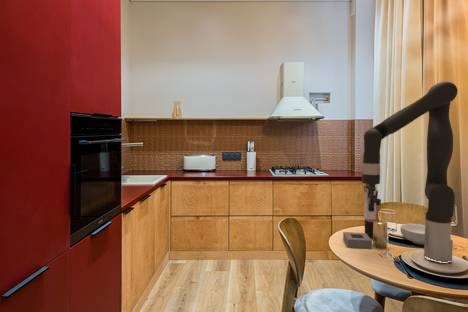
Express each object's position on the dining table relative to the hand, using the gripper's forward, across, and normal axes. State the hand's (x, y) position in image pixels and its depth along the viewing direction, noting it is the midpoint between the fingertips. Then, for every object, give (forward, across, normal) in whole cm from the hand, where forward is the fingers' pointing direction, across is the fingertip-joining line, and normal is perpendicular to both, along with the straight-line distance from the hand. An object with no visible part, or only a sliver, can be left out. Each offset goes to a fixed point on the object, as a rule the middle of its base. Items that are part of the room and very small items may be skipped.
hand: (369, 209), depth 138 cm
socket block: (+19, +9, +3) cm, 22 cm away
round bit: (+19, +7, -7) cm, 22 cm away
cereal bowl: (+20, +16, -28) cm, 38 cm away
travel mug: (+20, +22, -8) cm, 30 cm away
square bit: (+4, 0, 0) cm, 4 cm away
